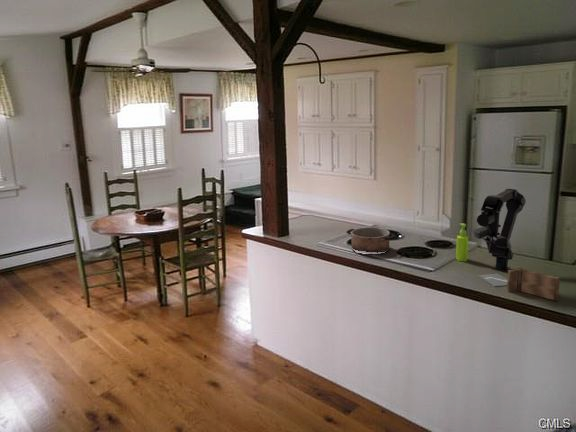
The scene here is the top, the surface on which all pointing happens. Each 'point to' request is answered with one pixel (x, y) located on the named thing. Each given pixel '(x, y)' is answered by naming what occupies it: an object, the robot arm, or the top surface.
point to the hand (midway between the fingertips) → (490, 253)
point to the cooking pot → (370, 239)
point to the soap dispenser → (462, 245)
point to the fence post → (514, 280)
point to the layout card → (495, 279)
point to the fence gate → (540, 285)
